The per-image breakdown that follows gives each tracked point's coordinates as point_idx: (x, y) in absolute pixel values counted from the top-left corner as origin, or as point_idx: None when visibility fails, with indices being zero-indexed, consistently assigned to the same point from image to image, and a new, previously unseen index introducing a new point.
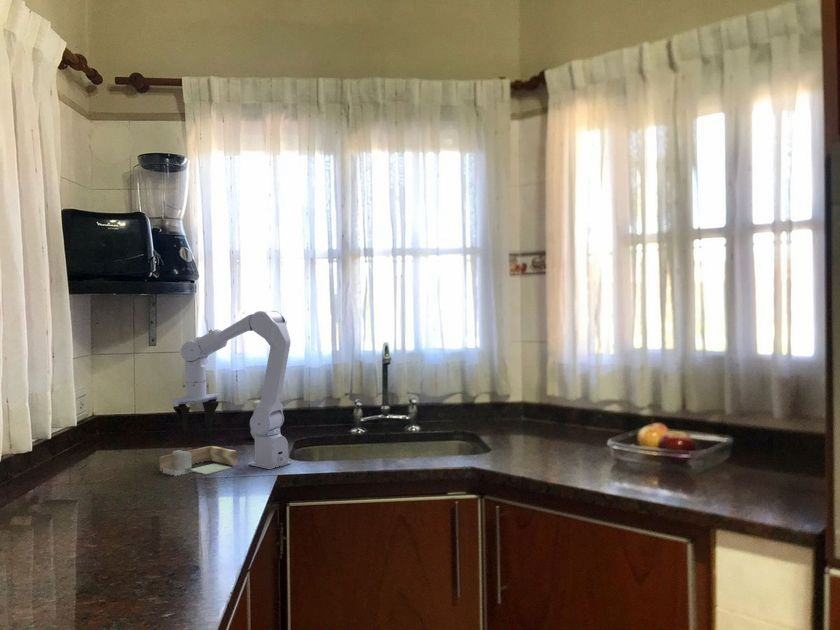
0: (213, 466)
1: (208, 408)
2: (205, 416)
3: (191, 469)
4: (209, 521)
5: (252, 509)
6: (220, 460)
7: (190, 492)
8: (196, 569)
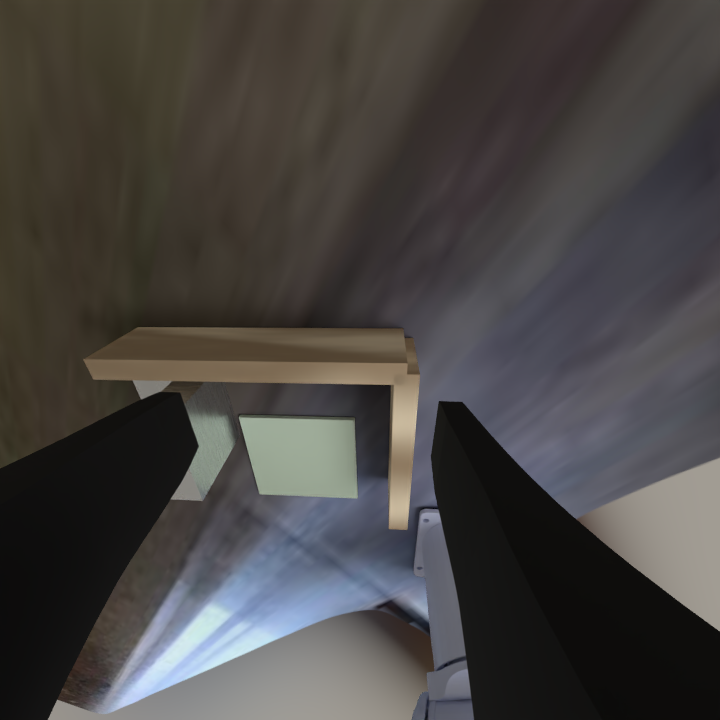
0: (325, 450)
1: (497, 707)
2: (469, 478)
3: (235, 442)
4: (154, 644)
5: (227, 653)
6: (390, 420)
7: (168, 558)
8: (106, 686)
